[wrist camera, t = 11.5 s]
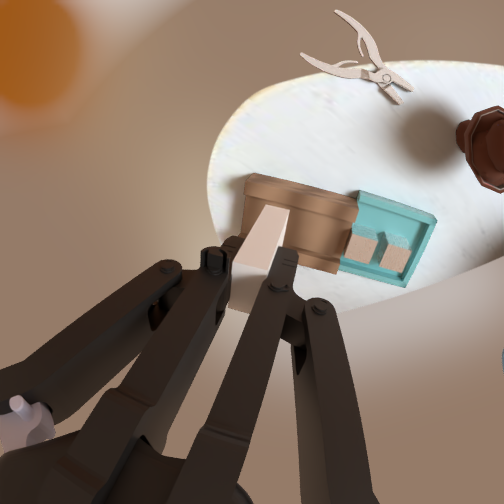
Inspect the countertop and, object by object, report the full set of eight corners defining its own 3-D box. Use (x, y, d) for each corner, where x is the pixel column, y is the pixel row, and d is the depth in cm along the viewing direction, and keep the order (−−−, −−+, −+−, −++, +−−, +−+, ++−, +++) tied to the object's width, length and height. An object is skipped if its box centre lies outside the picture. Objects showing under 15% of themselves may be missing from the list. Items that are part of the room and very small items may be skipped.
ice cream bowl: (443, 173, 33) (488, 212, 21) (436, 100, 28) (487, 105, 16) (495, 173, 30) (548, 210, 17) (492, 103, 25) (551, 116, 12)
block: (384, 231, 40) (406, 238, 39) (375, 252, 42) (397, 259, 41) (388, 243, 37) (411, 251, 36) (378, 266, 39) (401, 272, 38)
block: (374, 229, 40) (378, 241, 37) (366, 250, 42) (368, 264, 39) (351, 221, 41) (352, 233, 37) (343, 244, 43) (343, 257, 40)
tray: (433, 214, 37) (437, 220, 35) (403, 280, 44) (405, 287, 42) (359, 189, 39) (360, 194, 37) (335, 261, 46) (335, 268, 44)
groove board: (356, 199, 39) (359, 210, 36) (336, 259, 45) (336, 274, 42) (253, 172, 42) (245, 181, 38) (244, 234, 48) (236, 247, 44)
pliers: (336, 6, 24) (427, 73, 26) (336, 9, 26) (423, 74, 27) (297, 55, 30) (388, 121, 31) (298, 56, 31) (386, 120, 33)
